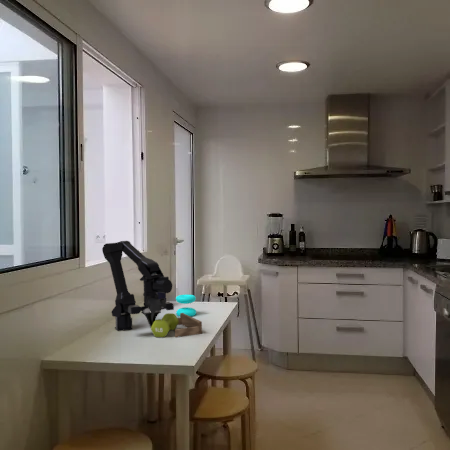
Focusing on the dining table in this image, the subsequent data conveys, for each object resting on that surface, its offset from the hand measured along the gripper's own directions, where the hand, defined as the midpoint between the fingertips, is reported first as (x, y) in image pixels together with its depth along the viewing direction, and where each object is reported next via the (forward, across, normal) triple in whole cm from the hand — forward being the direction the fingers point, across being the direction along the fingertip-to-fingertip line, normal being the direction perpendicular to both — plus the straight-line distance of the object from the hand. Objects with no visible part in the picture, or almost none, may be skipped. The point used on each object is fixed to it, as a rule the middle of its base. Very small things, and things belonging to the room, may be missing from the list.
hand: (151, 327), depth 213 cm
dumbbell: (+3, +6, -2) cm, 7 cm away
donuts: (+3, +27, +28) cm, 39 cm away
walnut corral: (+2, +13, 0) cm, 13 cm away
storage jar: (+3, +20, +55) cm, 59 cm away
